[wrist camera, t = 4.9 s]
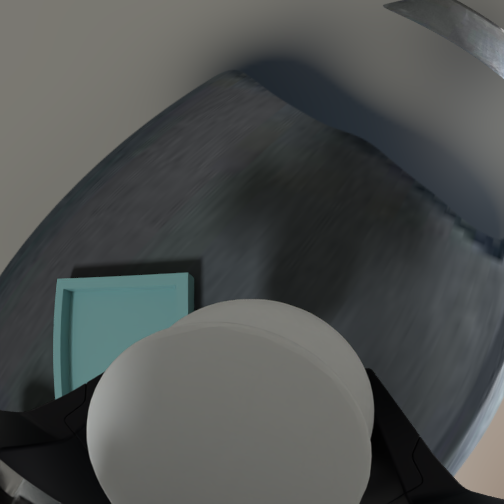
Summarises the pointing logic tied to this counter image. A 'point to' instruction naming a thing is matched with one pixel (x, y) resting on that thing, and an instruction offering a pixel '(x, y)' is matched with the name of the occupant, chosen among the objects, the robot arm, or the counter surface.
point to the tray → (111, 320)
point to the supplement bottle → (234, 412)
